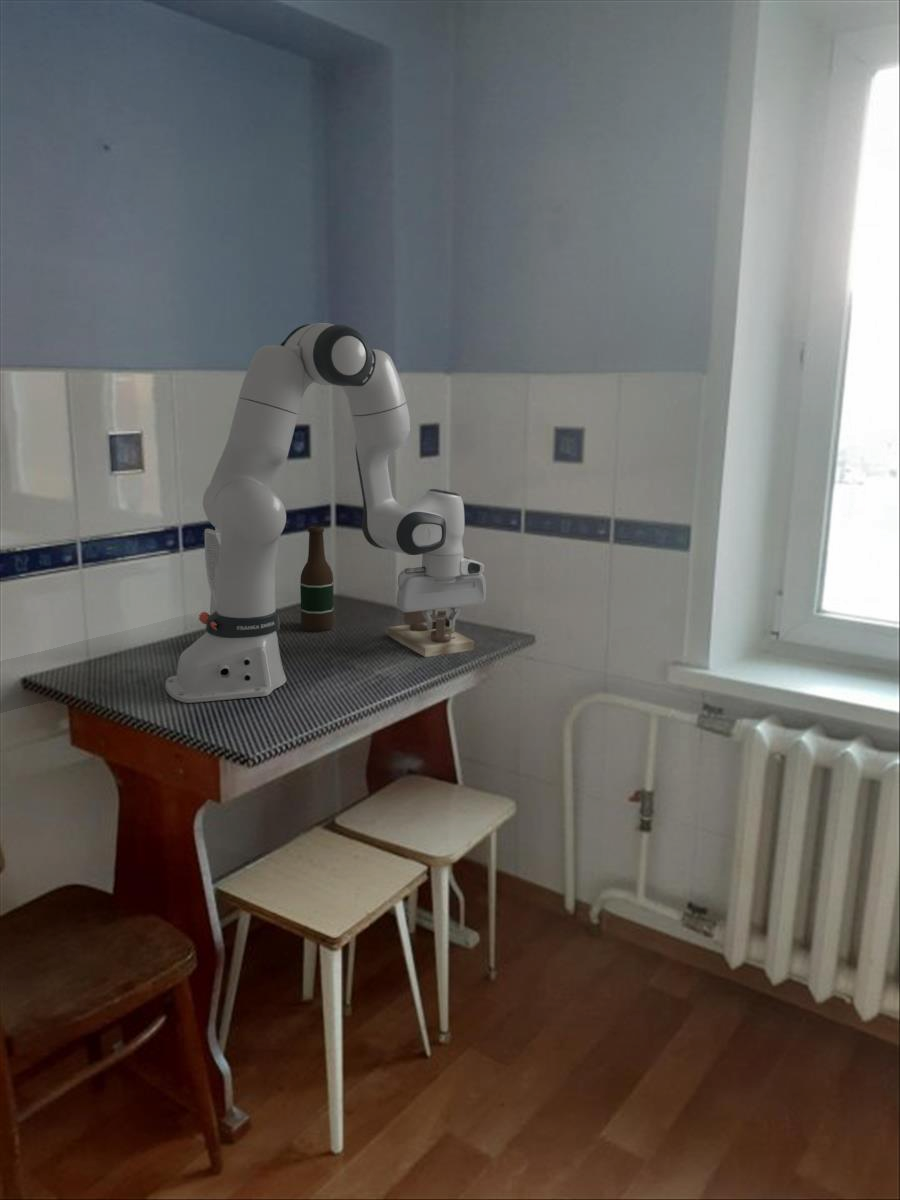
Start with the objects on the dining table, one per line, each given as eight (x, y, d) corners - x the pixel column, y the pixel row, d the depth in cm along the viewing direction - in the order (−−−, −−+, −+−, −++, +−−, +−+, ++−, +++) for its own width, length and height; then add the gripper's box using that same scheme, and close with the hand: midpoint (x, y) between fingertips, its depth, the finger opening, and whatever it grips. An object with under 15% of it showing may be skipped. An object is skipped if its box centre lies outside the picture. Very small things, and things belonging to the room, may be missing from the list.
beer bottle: (338, 630, 215) (337, 528, 209) (305, 633, 212) (303, 530, 206) (329, 622, 222) (328, 523, 216) (297, 625, 219) (295, 524, 213)
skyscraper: (251, 643, 206) (247, 517, 199) (239, 653, 198) (234, 523, 191) (214, 641, 206) (208, 516, 199) (201, 652, 198) (195, 522, 192)
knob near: (450, 644, 199) (450, 618, 198) (429, 643, 199) (430, 617, 198) (451, 635, 206) (452, 609, 204) (431, 634, 206) (432, 609, 205)
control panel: (425, 657, 197) (425, 640, 196) (388, 635, 212) (388, 620, 211) (474, 649, 203) (474, 634, 202) (434, 629, 218) (434, 614, 217)
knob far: (410, 632, 207) (410, 607, 206) (401, 627, 211) (401, 602, 210) (437, 628, 211) (438, 603, 209) (428, 624, 215) (429, 599, 213)
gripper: (405, 571, 191) (404, 636, 194) (490, 564, 200) (488, 626, 203) (392, 566, 196) (391, 629, 199) (476, 559, 206) (474, 619, 209)
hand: (441, 627), depth 201 cm, fingers closed on knob near, 3 cm apart
